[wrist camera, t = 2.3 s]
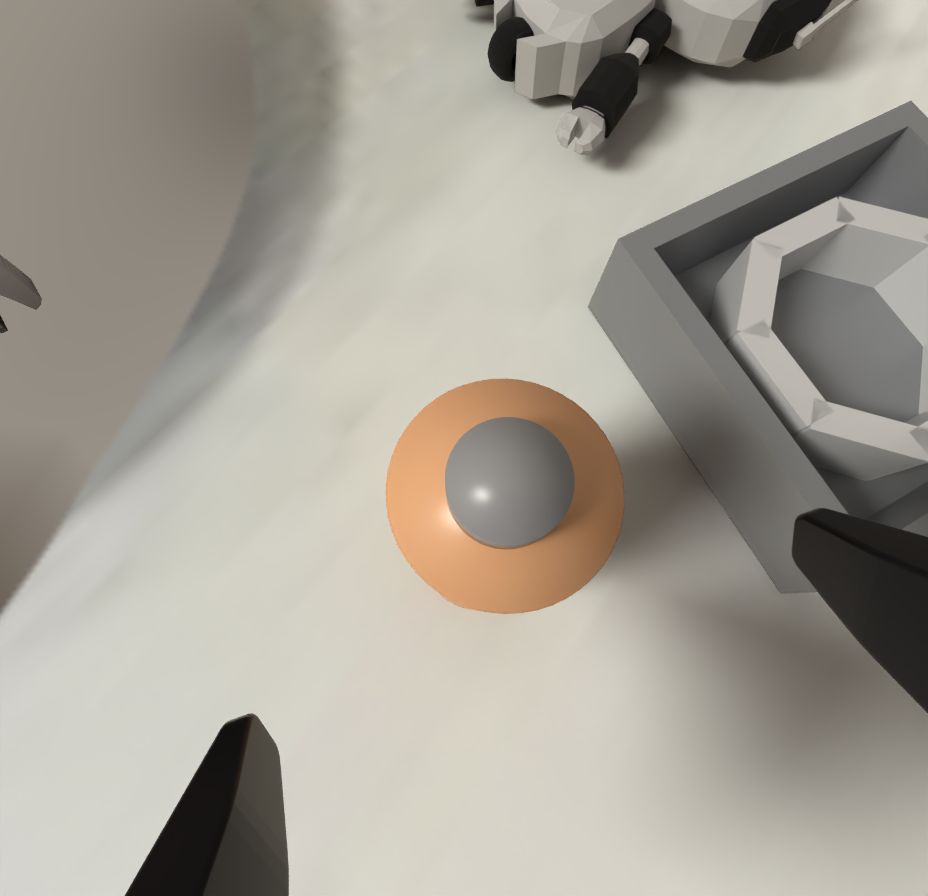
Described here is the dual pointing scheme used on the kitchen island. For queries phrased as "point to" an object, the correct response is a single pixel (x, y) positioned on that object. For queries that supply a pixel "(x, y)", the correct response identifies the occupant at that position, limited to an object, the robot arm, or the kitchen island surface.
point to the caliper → (16, 287)
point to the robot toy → (632, 47)
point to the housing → (792, 335)
